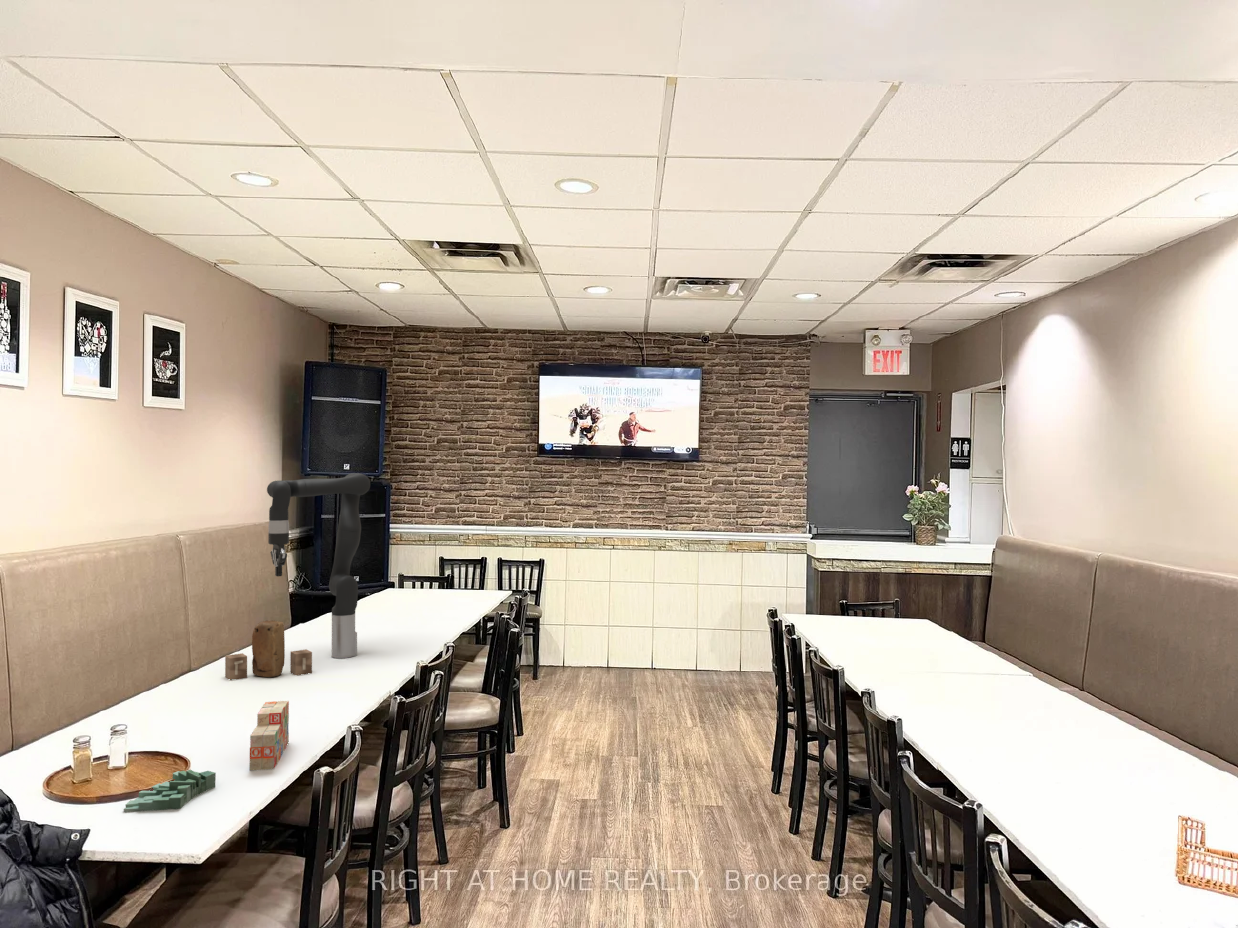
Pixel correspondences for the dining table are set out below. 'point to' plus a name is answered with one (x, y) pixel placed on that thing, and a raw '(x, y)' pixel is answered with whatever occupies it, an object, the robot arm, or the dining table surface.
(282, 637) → the block
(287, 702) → the stack of blocks
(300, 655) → the walnut block one
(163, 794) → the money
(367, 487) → the robot arm
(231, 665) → the brown letter block
